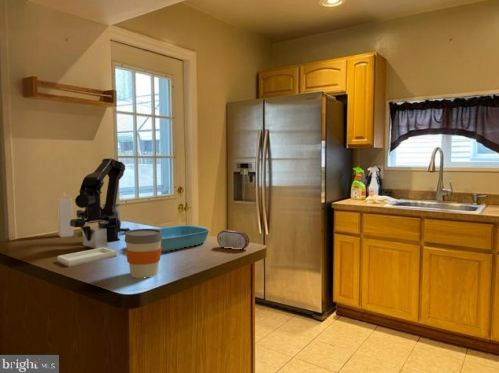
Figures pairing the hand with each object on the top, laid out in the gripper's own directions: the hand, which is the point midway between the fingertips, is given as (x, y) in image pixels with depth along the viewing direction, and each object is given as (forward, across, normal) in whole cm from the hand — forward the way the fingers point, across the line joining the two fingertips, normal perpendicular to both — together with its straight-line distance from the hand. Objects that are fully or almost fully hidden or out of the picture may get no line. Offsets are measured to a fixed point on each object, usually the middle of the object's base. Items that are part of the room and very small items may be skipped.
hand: (94, 240), depth 167 cm
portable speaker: (+4, -41, +45) cm, 61 cm away
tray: (+4, +10, +14) cm, 18 cm away
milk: (+4, -3, -36) cm, 36 cm away
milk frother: (+4, -25, -25) cm, 36 cm away
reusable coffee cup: (+4, +6, +47) cm, 48 cm away
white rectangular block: (+3, 0, 0) cm, 3 cm away
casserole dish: (+4, -27, +20) cm, 34 cm away
